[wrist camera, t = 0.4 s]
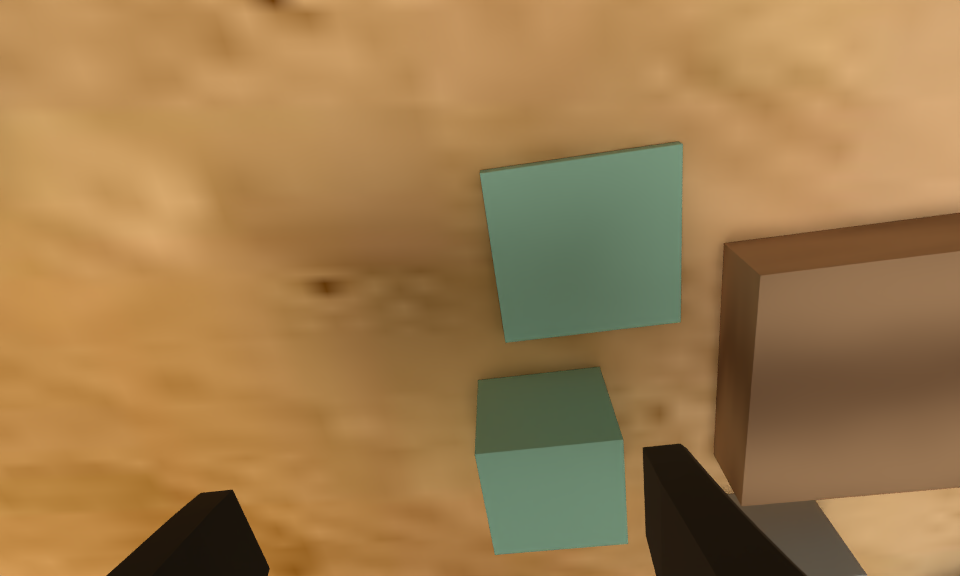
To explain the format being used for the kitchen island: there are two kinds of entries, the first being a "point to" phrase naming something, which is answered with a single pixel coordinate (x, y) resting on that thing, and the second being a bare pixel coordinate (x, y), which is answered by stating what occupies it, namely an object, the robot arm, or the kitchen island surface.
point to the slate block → (804, 537)
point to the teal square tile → (587, 241)
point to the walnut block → (841, 362)
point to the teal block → (550, 462)
